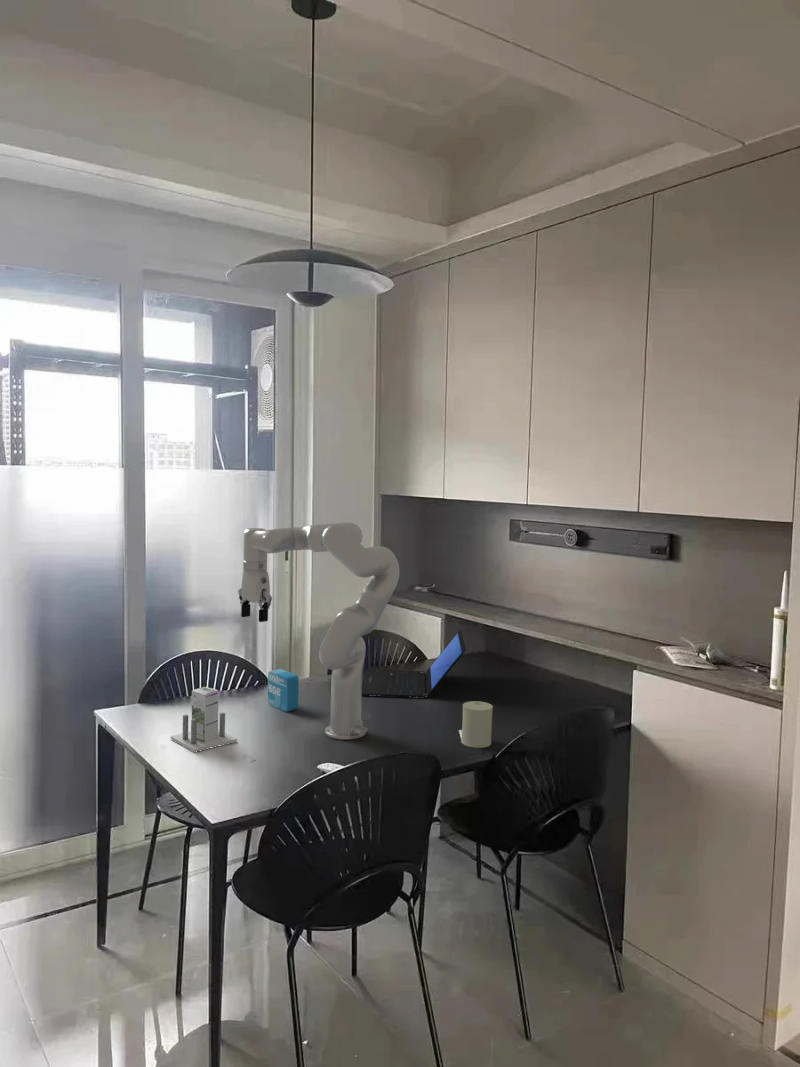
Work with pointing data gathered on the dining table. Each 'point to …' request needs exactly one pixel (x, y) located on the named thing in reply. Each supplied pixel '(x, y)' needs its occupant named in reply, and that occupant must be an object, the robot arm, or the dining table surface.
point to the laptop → (414, 675)
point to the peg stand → (195, 745)
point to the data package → (283, 690)
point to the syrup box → (205, 712)
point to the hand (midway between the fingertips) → (254, 619)
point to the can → (477, 724)
